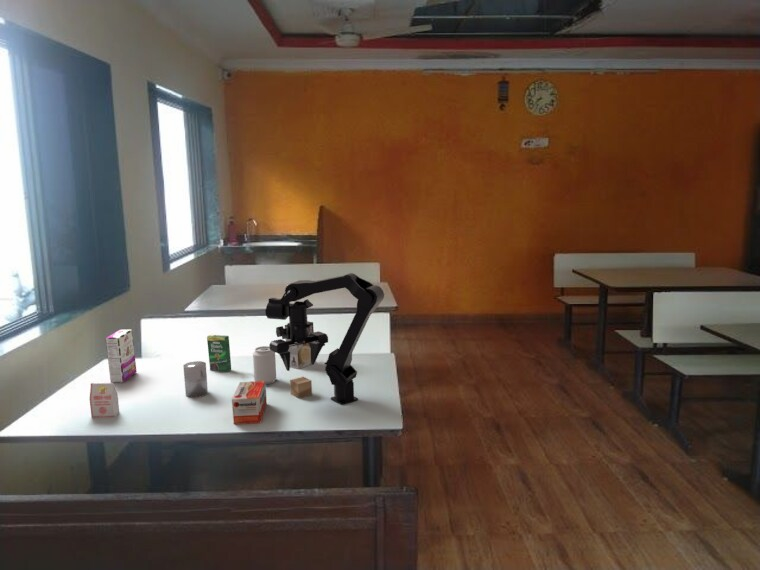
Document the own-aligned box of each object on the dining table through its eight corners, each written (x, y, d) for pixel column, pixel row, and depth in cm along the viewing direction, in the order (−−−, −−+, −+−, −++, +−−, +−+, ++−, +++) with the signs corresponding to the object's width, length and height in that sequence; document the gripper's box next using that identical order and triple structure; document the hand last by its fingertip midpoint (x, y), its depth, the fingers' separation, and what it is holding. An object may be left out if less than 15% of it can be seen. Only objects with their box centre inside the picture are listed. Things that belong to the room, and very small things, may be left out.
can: (278, 378, 211) (277, 345, 209) (273, 385, 204) (271, 351, 202) (258, 377, 212) (256, 344, 210) (251, 384, 205) (249, 351, 203)
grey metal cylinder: (211, 394, 197) (209, 364, 195) (190, 399, 192) (188, 369, 190) (202, 388, 202) (200, 359, 200) (182, 393, 198) (180, 364, 196)
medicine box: (241, 405, 187) (239, 381, 186) (267, 404, 188) (266, 379, 186) (232, 425, 172) (231, 399, 171) (261, 424, 173) (260, 397, 171)
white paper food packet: (97, 412, 183) (93, 381, 181) (119, 412, 183) (116, 380, 181) (91, 417, 179) (88, 385, 177) (114, 417, 179) (110, 385, 177)
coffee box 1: (208, 370, 221) (206, 335, 218) (213, 367, 223) (210, 333, 221) (227, 372, 218) (225, 337, 216) (231, 370, 221) (229, 335, 218)
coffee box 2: (303, 360, 231) (301, 319, 228) (315, 363, 227) (314, 322, 224) (286, 366, 224) (284, 324, 221) (298, 369, 220) (296, 327, 217)
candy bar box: (123, 372, 220) (119, 329, 217) (137, 372, 220) (133, 329, 217) (109, 383, 209) (104, 337, 206) (123, 383, 209) (119, 337, 206)
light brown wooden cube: (311, 395, 195) (311, 380, 194) (298, 398, 192) (297, 383, 191) (303, 390, 199) (303, 376, 198) (290, 394, 196) (290, 379, 195)
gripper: (310, 311, 202) (312, 356, 205) (260, 320, 191) (262, 367, 194) (328, 317, 194) (330, 363, 197) (277, 327, 183) (279, 376, 185)
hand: (300, 367), depth 193 cm, fingers open, 9 cm apart
